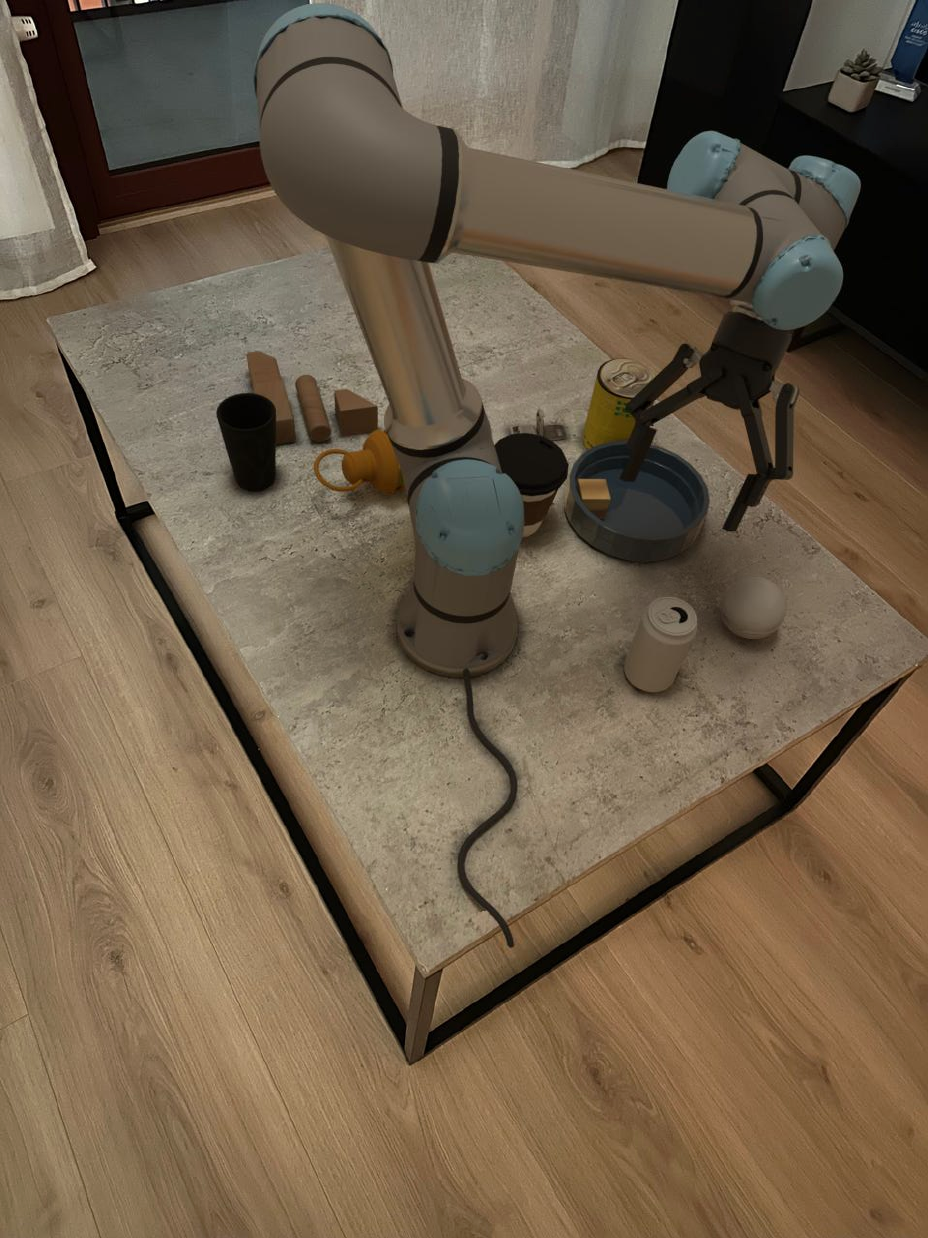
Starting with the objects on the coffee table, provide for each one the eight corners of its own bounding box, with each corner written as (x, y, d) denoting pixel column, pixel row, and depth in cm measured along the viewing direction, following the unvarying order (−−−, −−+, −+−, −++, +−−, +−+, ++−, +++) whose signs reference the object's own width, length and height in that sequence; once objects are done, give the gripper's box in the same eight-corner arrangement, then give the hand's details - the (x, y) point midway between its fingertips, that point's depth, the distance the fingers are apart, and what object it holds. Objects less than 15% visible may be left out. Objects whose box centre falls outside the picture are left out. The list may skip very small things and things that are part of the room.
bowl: (687, 580, 122) (698, 556, 118) (548, 540, 124) (554, 515, 120) (708, 486, 134) (718, 461, 130) (581, 452, 136) (587, 426, 132)
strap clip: (512, 443, 136) (516, 421, 133) (508, 429, 138) (511, 407, 135) (566, 439, 138) (571, 418, 134) (561, 426, 139) (566, 404, 136)
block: (604, 519, 127) (610, 499, 124) (577, 519, 127) (582, 498, 123) (600, 499, 129) (605, 478, 126) (572, 498, 129) (578, 478, 126)
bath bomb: (700, 616, 118) (718, 577, 112) (744, 594, 121) (764, 555, 115) (741, 660, 114) (762, 622, 108) (785, 636, 117) (809, 598, 111)
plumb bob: (454, 439, 136) (299, 468, 125) (472, 400, 129) (308, 427, 118) (479, 487, 133) (322, 521, 122) (499, 450, 126) (333, 482, 115)
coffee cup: (512, 483, 131) (523, 418, 121) (571, 522, 127) (587, 458, 117) (462, 520, 125) (469, 456, 116) (522, 563, 121) (534, 500, 112)
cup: (272, 502, 125) (264, 435, 115) (219, 491, 125) (207, 423, 116) (290, 465, 129) (283, 398, 120) (239, 455, 130) (228, 387, 120)
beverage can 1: (651, 444, 139) (672, 380, 129) (615, 469, 134) (633, 406, 125) (607, 414, 142) (624, 350, 133) (570, 438, 138) (584, 374, 128)
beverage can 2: (682, 688, 111) (711, 630, 101) (635, 701, 109) (660, 642, 100) (659, 648, 114) (684, 588, 105) (613, 659, 113) (635, 599, 103)
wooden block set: (261, 421, 126) (243, 344, 137) (265, 451, 131) (247, 375, 141) (379, 406, 130) (352, 332, 140) (379, 436, 135) (353, 363, 145)
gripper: (881, 364, 92) (785, 551, 100) (674, 291, 104) (602, 462, 111) (865, 354, 86) (764, 554, 93) (647, 277, 98) (573, 460, 105)
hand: (676, 504), depth 102 cm, fingers open, 13 cm apart
